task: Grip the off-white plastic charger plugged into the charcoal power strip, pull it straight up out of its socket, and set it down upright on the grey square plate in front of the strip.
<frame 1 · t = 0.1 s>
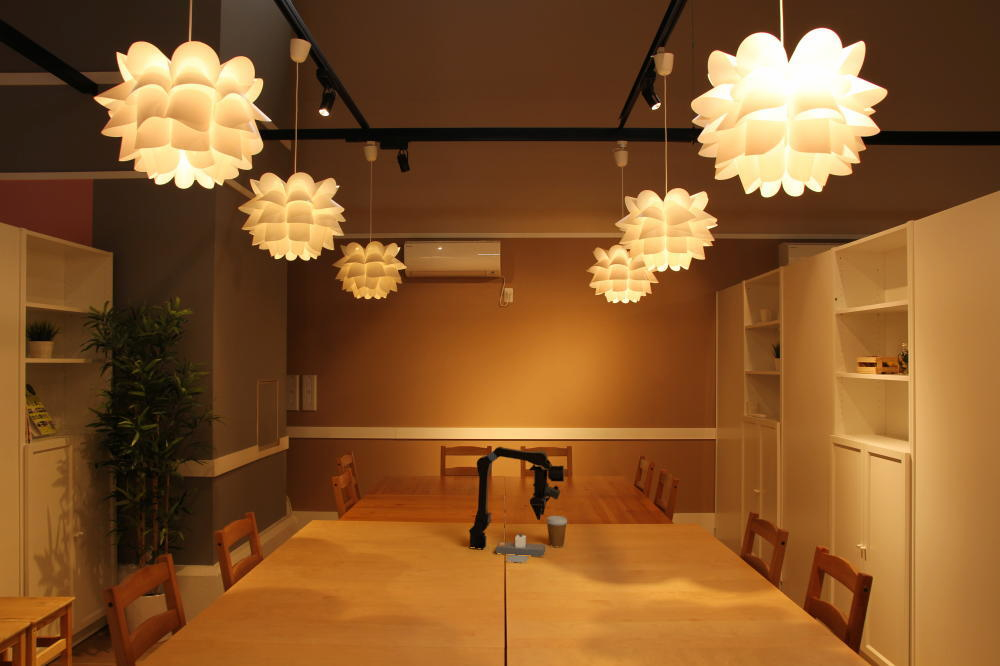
hand: (540, 517, 263), 14 cm above the table, tool pointing down, fingers open, 9 cm apart
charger: (520, 553, 260), resting in power strip
grey square plate: (517, 559, 251), on the table
power strip: (520, 553, 260), on the table
disposable coffee cup: (556, 545, 271), on the table
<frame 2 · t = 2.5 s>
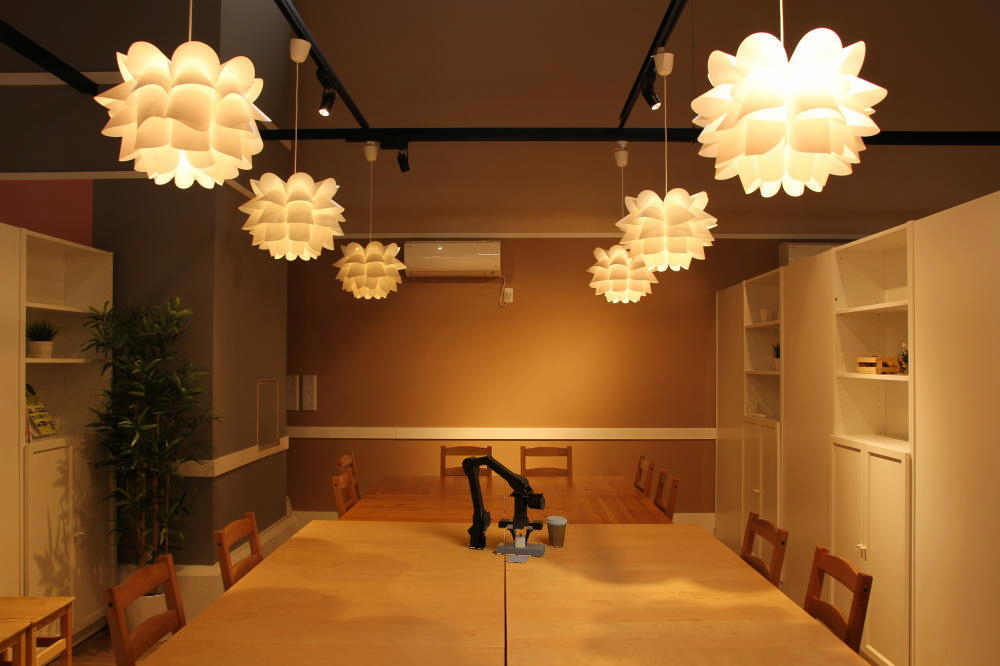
hand: (520, 544, 260), 4 cm above the table, tool pointing down, fingers closed on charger, 4 cm apart
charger: (520, 553, 260), resting in power strip, touching gripper
everything else where it was.
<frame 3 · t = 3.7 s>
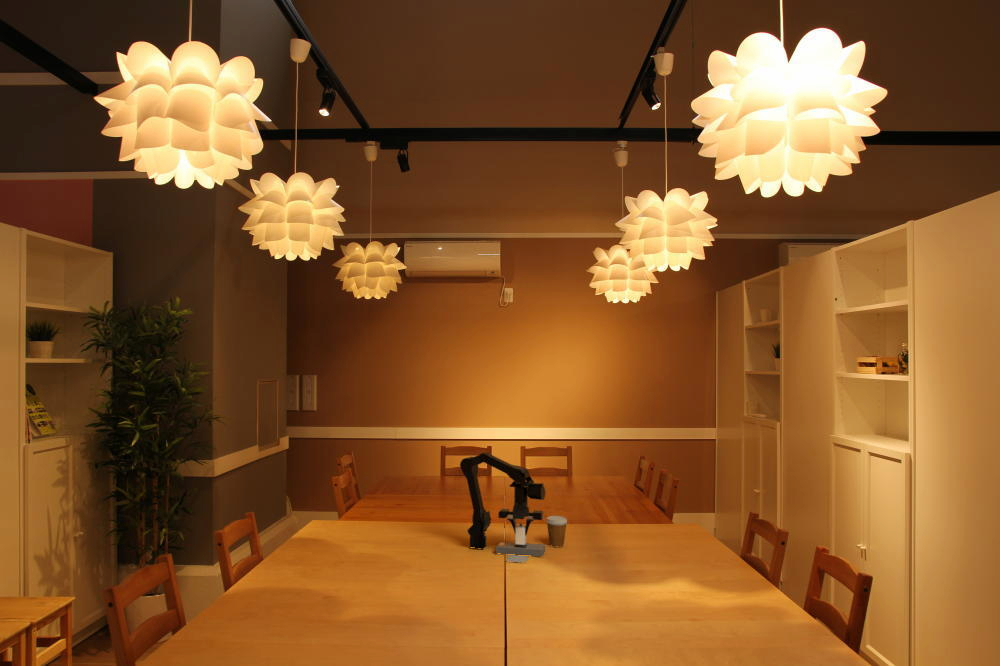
hand: (520, 534, 260), 8 cm above the table, tool pointing down, fingers closed on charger, 4 cm apart
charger: (520, 543, 260), point 4 cm above the table, touching gripper
everything else where it was.
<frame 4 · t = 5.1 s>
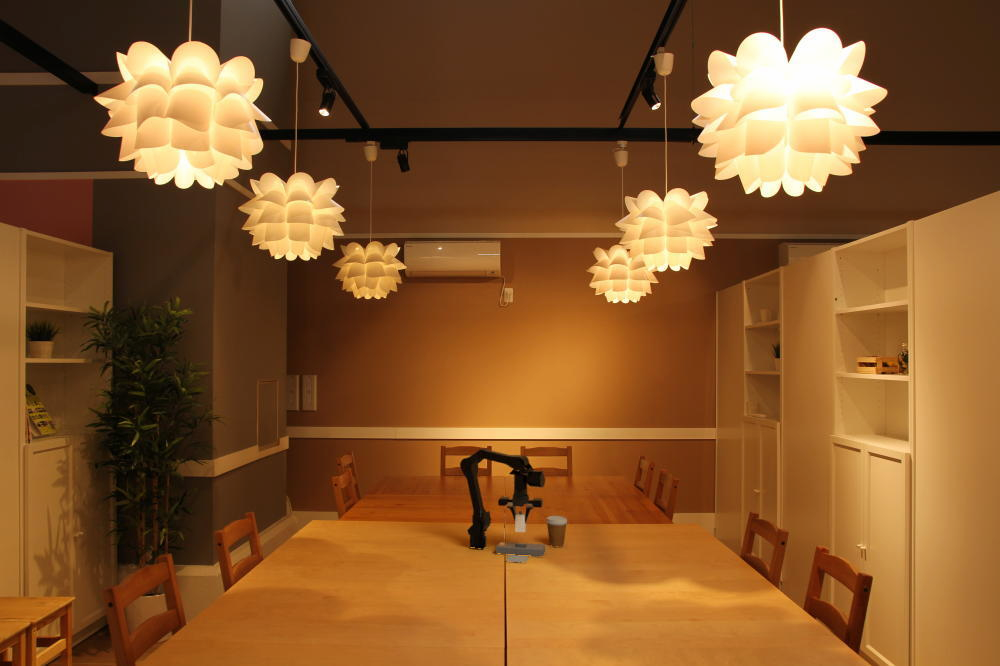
hand: (520, 522, 260), 13 cm above the table, tool pointing down, fingers closed on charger, 4 cm apart
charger: (520, 530, 260), point 9 cm above the table, touching gripper
everything else where it was.
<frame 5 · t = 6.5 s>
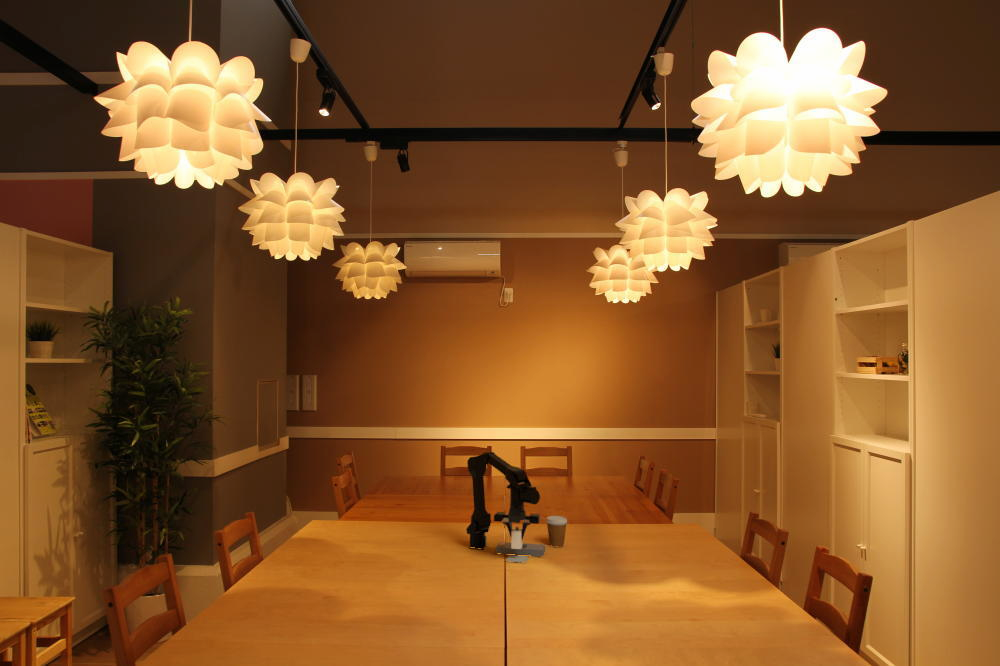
hand: (517, 538, 251), 9 cm above the table, tool pointing down, fingers closed on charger, 4 cm apart
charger: (516, 547, 251), point 5 cm above the table, touching gripper
everything else where it was.
when the fingers open (5 cm above the table, at t = 7.8 s): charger drops 1 cm, resting on grey square plate.
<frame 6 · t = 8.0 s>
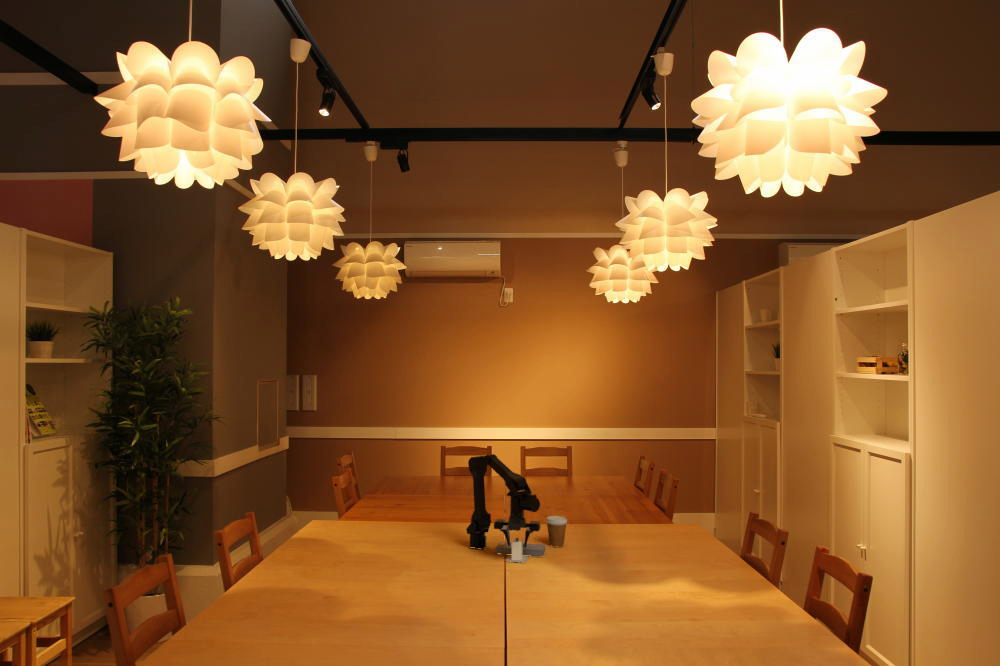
hand: (517, 546, 251), 5 cm above the table, tool pointing down, fingers open, 6 cm apart
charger: (517, 558, 251), point 1 cm above the table, touching grey square plate
everything else where it was.
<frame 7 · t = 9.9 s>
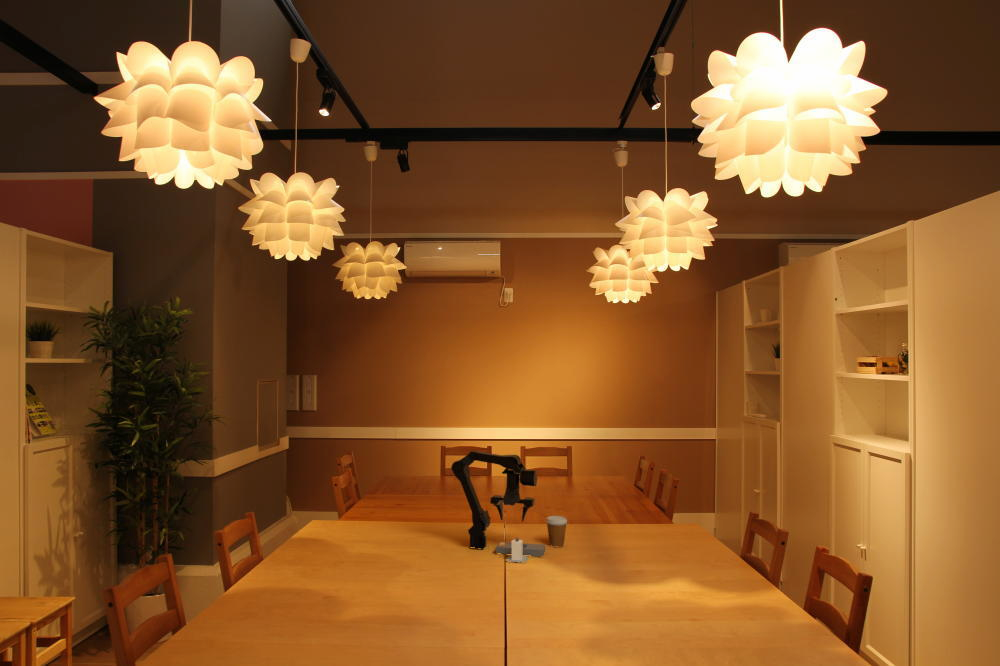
hand: (512, 520, 264), 13 cm above the table, tool pointing down, fingers open, 9 cm apart
nothing on the table moved.
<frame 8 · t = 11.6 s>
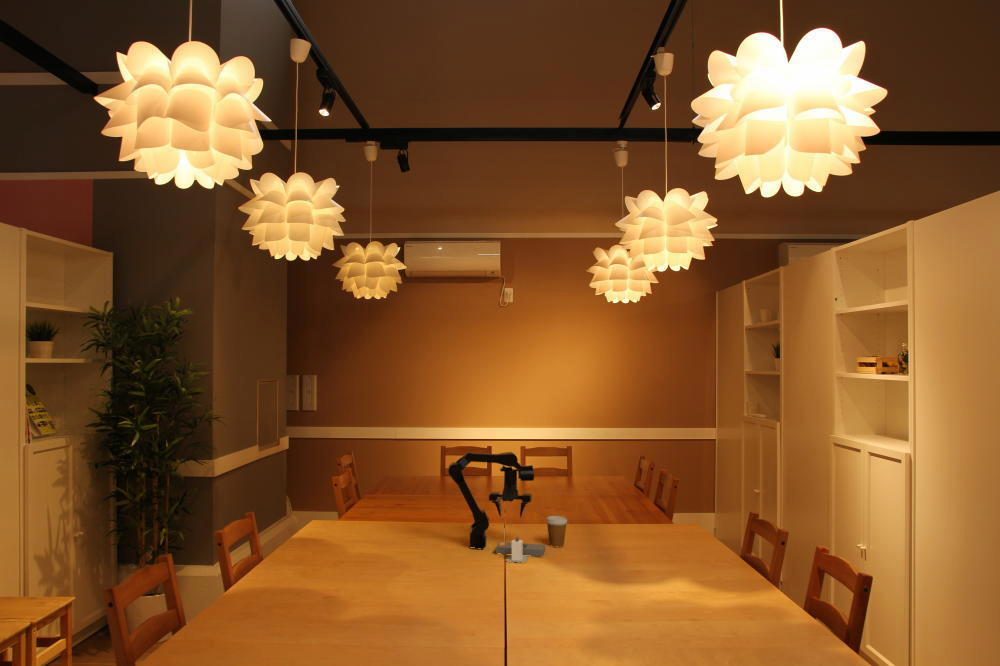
hand: (510, 516, 270), 13 cm above the table, tool pointing down, fingers open, 9 cm apart
nothing on the table moved.
at the end: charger 0.0 cm off-centre on the grey square plate, point 0.6 cm above the grey square plate's base; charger tilted 0°; the gripper is holding nothing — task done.
